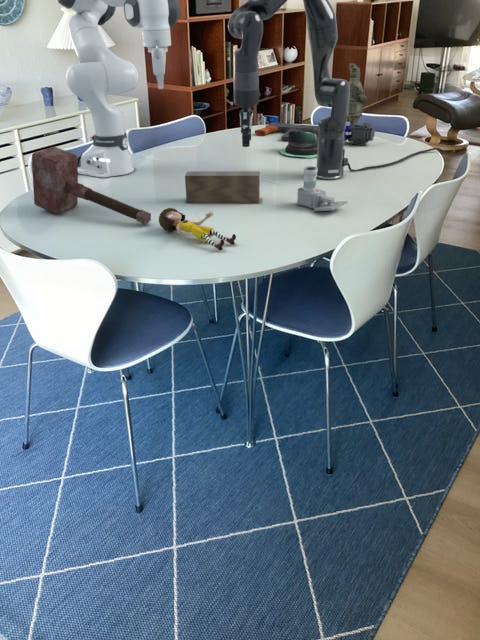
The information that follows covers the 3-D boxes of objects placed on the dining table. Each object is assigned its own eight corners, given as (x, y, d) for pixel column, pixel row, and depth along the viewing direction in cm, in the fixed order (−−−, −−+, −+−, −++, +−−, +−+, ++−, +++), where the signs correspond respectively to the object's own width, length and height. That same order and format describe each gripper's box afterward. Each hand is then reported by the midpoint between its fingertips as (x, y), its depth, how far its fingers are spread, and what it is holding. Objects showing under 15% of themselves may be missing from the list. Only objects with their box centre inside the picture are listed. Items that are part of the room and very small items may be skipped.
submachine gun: (248, 131, 260) (271, 121, 279) (248, 137, 261) (271, 127, 280) (310, 137, 246) (331, 126, 265) (310, 144, 248) (330, 132, 266)
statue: (367, 132, 266) (374, 63, 251) (349, 133, 264) (355, 64, 249) (357, 127, 275) (362, 61, 260) (339, 129, 273) (344, 62, 258)
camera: (310, 163, 175) (350, 172, 167) (308, 199, 181) (347, 209, 173) (293, 169, 170) (334, 178, 161) (291, 206, 176) (331, 217, 167)
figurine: (212, 239, 141) (145, 208, 153) (211, 265, 145) (145, 233, 157) (245, 224, 150) (179, 196, 162) (243, 249, 154) (178, 220, 166)
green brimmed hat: (332, 145, 241) (326, 158, 224) (294, 164, 249) (286, 177, 233) (317, 113, 235) (310, 124, 219) (279, 133, 244) (269, 145, 228)
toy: (345, 120, 249) (377, 123, 242) (343, 139, 253) (375, 143, 246) (337, 123, 243) (369, 127, 236) (336, 143, 247) (367, 147, 240)
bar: (186, 203, 181) (184, 175, 177) (188, 198, 186) (187, 171, 181) (259, 203, 180) (259, 175, 175) (259, 198, 184) (259, 171, 179)
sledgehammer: (159, 186, 162) (53, 145, 173) (139, 196, 154) (29, 152, 166) (154, 239, 172) (54, 196, 183) (135, 250, 164) (32, 205, 176)
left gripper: (166, 42, 169) (170, 91, 176) (167, 37, 186) (170, 82, 193) (145, 43, 168) (150, 91, 175) (148, 38, 186) (152, 82, 193)
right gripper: (257, 91, 158) (257, 149, 166) (259, 84, 171) (259, 138, 179) (231, 91, 159) (233, 149, 167) (235, 84, 171) (236, 138, 179)
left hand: (161, 86), depth 184 cm, fingers open, 8 cm apart
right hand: (246, 143), depth 173 cm, fingers open, 8 cm apart
